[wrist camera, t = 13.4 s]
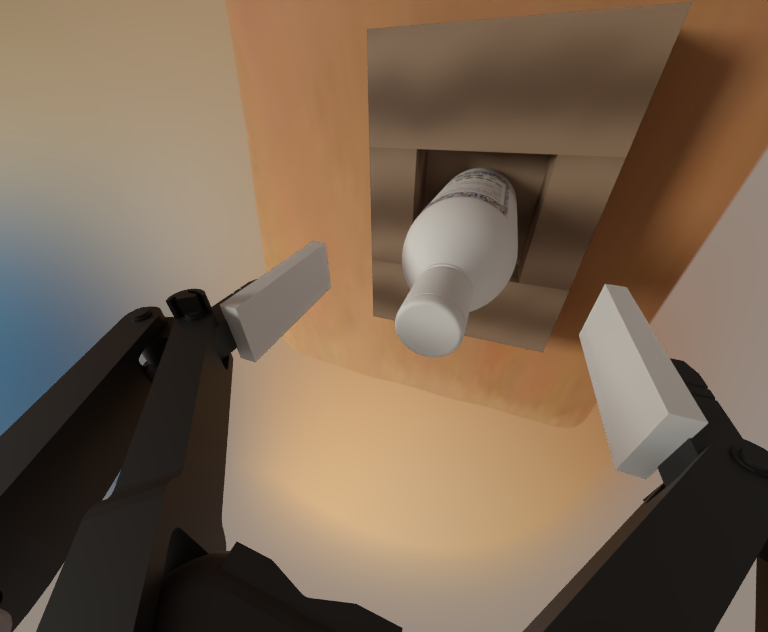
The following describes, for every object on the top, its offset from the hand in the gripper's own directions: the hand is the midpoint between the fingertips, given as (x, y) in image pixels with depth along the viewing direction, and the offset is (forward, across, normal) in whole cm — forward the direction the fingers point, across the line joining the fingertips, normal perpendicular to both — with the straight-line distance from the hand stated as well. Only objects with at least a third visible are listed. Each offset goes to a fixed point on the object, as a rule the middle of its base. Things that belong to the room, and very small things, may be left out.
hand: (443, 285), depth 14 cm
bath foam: (+17, 0, -1) cm, 17 cm away
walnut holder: (+18, 0, -1) cm, 18 cm away
